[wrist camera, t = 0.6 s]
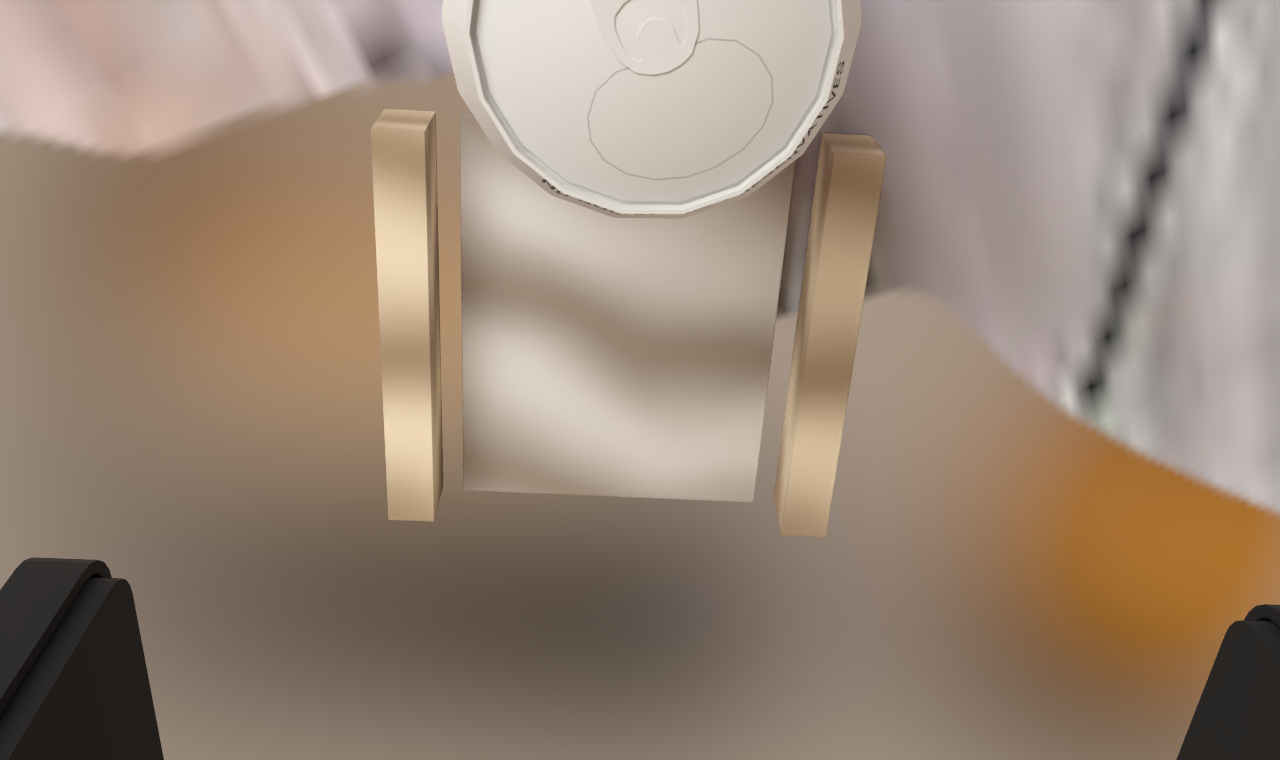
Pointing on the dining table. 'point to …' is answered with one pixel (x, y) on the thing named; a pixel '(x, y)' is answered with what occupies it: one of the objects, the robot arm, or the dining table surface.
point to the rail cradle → (615, 332)
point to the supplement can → (651, 93)
